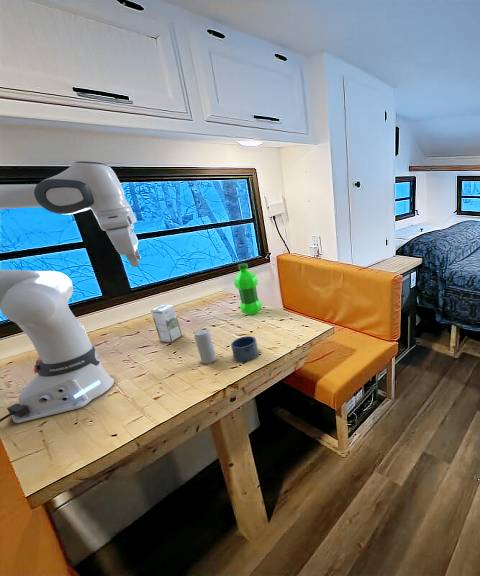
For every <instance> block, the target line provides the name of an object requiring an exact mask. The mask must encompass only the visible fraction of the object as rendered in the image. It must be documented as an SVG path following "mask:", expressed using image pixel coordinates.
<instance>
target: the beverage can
mask: <svg viewBox="0 0 480 576" xmlns="http://www.w3.org/2000/svg"><path fill="white" fill-rule="evenodd" d="M194 340H195V343H196V347H197V350H198V353H199V357H200V360H201V363H203V364H205V365H209V364H213V363H214V362H215V361H216V359H217V355H216V354H217V353H216V351H215V347H214V344H213V339H212V335H211V332H210V330H209V329H206V328H203V329H199V330H197V331H195V332H194Z"/></svg>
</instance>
